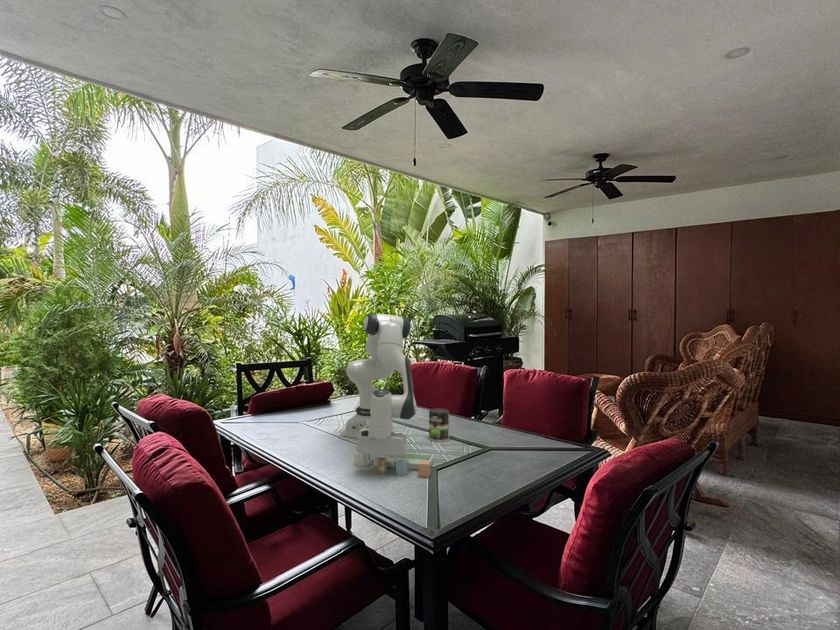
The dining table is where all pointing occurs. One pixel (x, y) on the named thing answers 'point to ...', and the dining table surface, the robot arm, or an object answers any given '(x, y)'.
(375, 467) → the birch block
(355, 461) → the cup
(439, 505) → the dining table surface
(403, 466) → the blue block
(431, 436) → the coffee can
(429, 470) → the terracotta block
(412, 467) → the tray
